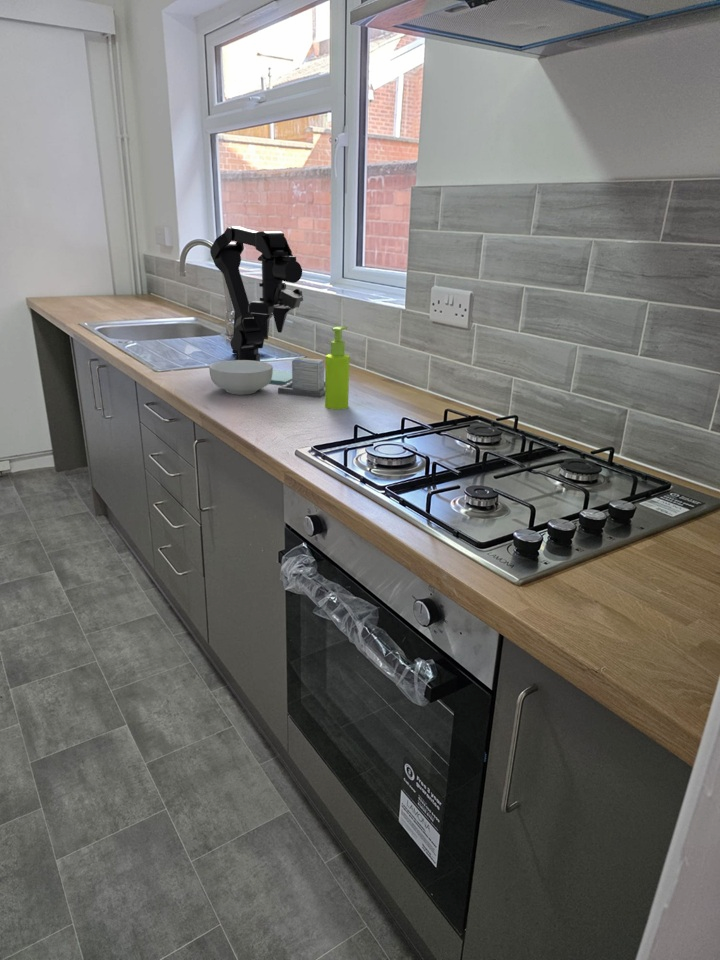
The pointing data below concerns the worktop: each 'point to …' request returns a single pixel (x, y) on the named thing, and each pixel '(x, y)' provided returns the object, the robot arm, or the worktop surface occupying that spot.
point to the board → (281, 377)
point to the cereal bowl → (241, 375)
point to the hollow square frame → (300, 391)
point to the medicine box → (308, 374)
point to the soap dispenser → (337, 373)
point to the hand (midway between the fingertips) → (272, 334)
